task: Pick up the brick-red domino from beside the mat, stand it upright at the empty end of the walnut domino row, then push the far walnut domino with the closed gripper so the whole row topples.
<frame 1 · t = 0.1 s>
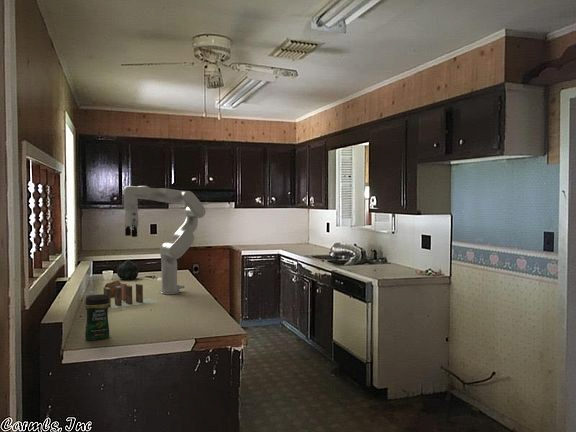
hand: (131, 236, 288), 37 cm above the counter, tool pointing down, fingers open, 9 cm apart
coffee jar: (97, 338, 207), on the counter
domino 4: (139, 302, 276), resting on mat
squash: (128, 279, 354), on the counter
domino 3: (128, 303, 272), resting on mat
domino 1: (107, 306, 264), resting on mat
mat: (127, 304, 271), on the counter
domino 2: (118, 304, 268), resting on mat
domino 5: (123, 300, 282), on the counter
tin: (112, 295, 297), on the counter
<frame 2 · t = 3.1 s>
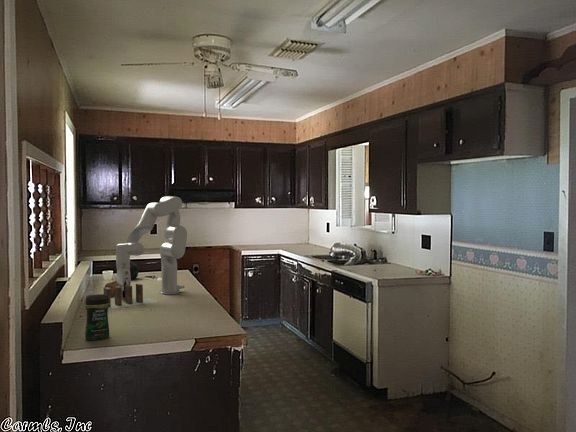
hand: (123, 296, 282), 2 cm above the counter, tool pointing down, fingers closed on domino 5, 4 cm apart
domino 5: (123, 300, 282), on the counter, touching gripper
everything else where it was.
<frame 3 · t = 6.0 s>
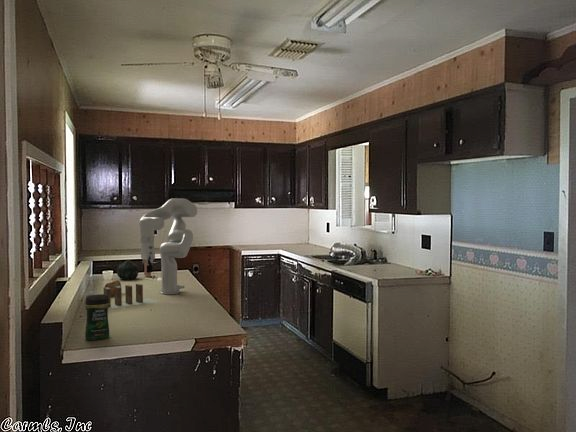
hand: (147, 271, 279), 17 cm above the counter, tool pointing down, fingers closed on domino 5, 4 cm apart
domino 5: (147, 275, 279), point 15 cm above the counter, touching gripper
everything else where it was.
when the fingers open (4 cm above the counter, at t = 9.1 s): domino 5 stays where it is, resting on mat.
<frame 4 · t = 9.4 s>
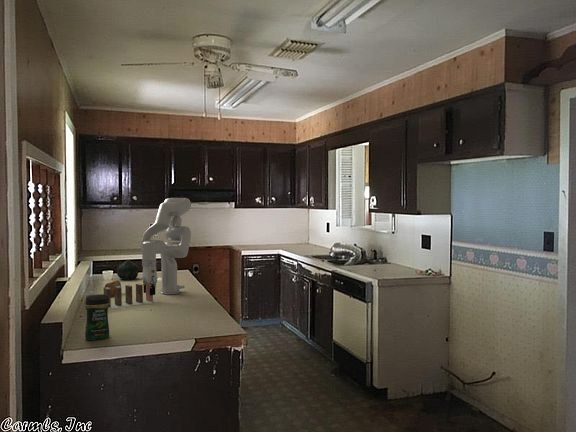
hand: (149, 293, 279), 4 cm above the counter, tool pointing down, fingers open, 8 cm apart
domino 5: (149, 300, 280), resting on mat
everything else where it was.
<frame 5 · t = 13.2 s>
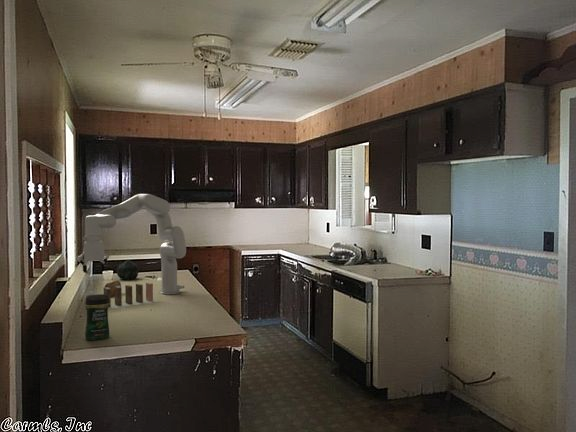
hand: (93, 271, 259), 20 cm above the counter, tool pointing down, fingers open, 7 cm apart
nothing on the counter moved.
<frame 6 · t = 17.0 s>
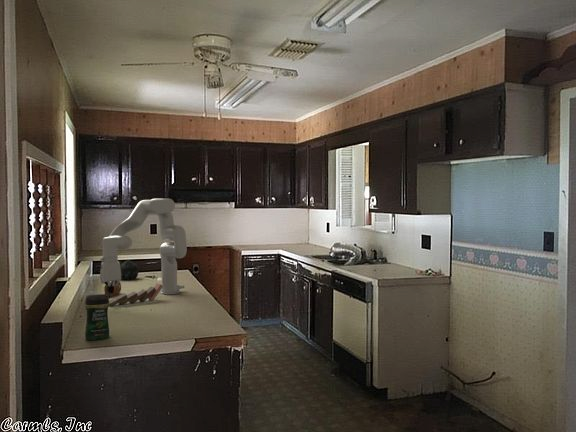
hand: (110, 293, 265), 7 cm above the counter, tool pointing down, fingers closed
domino 4: (140, 300, 276), point 1 cm above the counter, tilted 54°, touching domino 5, mat
domino 3: (130, 301, 272), point 1 cm above the counter, tilted 62°, touching domino 2, mat
domino 1: (108, 304, 265), point 1 cm above the counter, tilted 69°, touching mat
domino 2: (119, 303, 269), point 1 cm above the counter, tilted 67°, touching domino 3, mat
domino 5: (149, 299, 280), point 1 cm above the counter, tilted 39°, touching domino 4, mat
everything else where it was.
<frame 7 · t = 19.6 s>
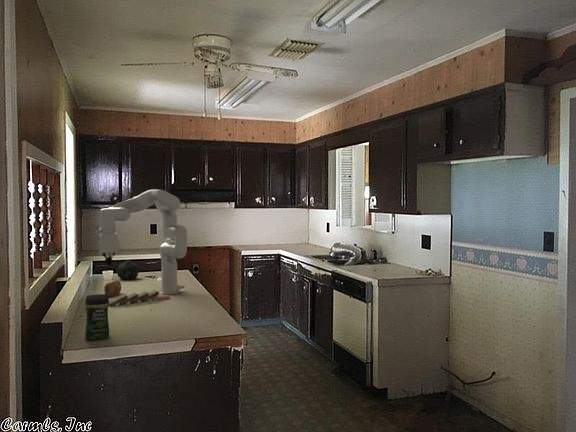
hand: (108, 265, 264), 23 cm above the counter, tool pointing down, fingers closed
domino 4: (141, 300, 277), point 1 cm above the counter, tilted 71°, touching domino 3, domino 5, mat
domino 3: (130, 301, 273), point 1 cm above the counter, tilted 71°, touching domino 2, domino 4, mat
domino 1: (108, 304, 265), point 1 cm above the counter, tilted 71°, touching domino 2, mat
domino 2: (119, 303, 269), point 1 cm above the counter, tilted 71°, touching domino 1, domino 3, mat
domino 5: (151, 298, 280), point 2 cm above the counter, tilted 93°, touching domino 4, mat
everything else where it was.
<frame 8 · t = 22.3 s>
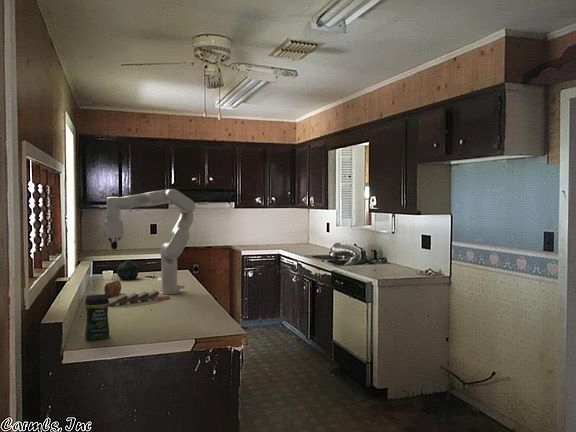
hand: (114, 248, 288), 29 cm above the counter, tool pointing down, fingers closed
nothing on the counter moved.
at the end: domino 5 tilted 93°; domino 1 tilted 71° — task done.
